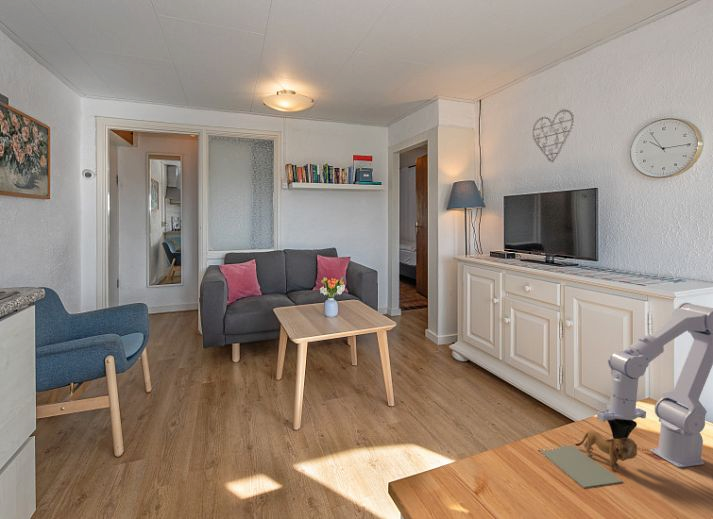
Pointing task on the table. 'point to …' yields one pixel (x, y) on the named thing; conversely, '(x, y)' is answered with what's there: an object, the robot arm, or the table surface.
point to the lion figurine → (610, 447)
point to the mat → (580, 467)
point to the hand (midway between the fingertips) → (618, 443)
